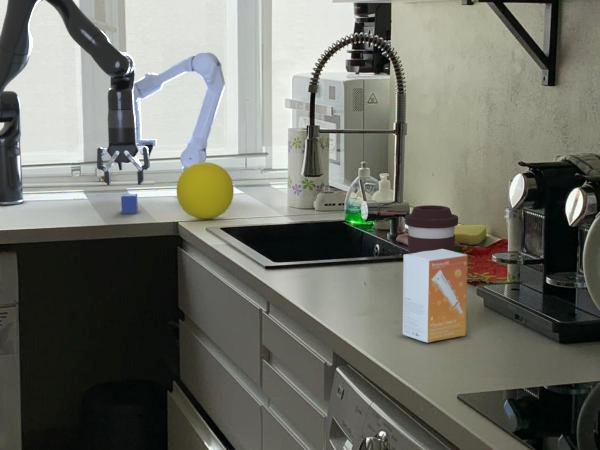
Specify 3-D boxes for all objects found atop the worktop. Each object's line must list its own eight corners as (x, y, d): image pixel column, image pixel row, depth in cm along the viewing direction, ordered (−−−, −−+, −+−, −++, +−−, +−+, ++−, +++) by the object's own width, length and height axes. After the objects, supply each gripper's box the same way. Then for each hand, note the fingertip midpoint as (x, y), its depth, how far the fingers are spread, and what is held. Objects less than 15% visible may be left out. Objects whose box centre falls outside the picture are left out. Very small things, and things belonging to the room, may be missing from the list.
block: (121, 213, 290) (121, 196, 289) (123, 211, 294) (122, 194, 294) (136, 213, 290) (135, 196, 290) (137, 211, 295) (137, 193, 294)
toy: (224, 212, 289) (223, 158, 287) (240, 220, 275) (239, 164, 273) (171, 216, 284) (169, 161, 282) (185, 224, 270) (183, 166, 268)
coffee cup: (400, 280, 202) (400, 204, 200) (450, 279, 203) (451, 203, 201) (409, 292, 193) (410, 212, 190) (462, 291, 193) (463, 211, 191)
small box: (427, 344, 159) (428, 260, 157) (401, 334, 164) (401, 253, 162) (467, 335, 164) (468, 254, 161) (440, 327, 169) (441, 247, 167)
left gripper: (93, 127, 283) (96, 186, 286) (145, 126, 283) (148, 185, 286) (98, 125, 291) (101, 183, 293) (149, 124, 290) (152, 182, 293)
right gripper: (106, 126, 314) (107, 171, 316) (154, 125, 315) (156, 170, 317) (108, 124, 321) (110, 168, 323) (156, 124, 322) (157, 168, 324)
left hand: (124, 184), depth 289 cm, fingers open, 8 cm apart
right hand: (133, 169), depth 321 cm, fingers open, 7 cm apart
